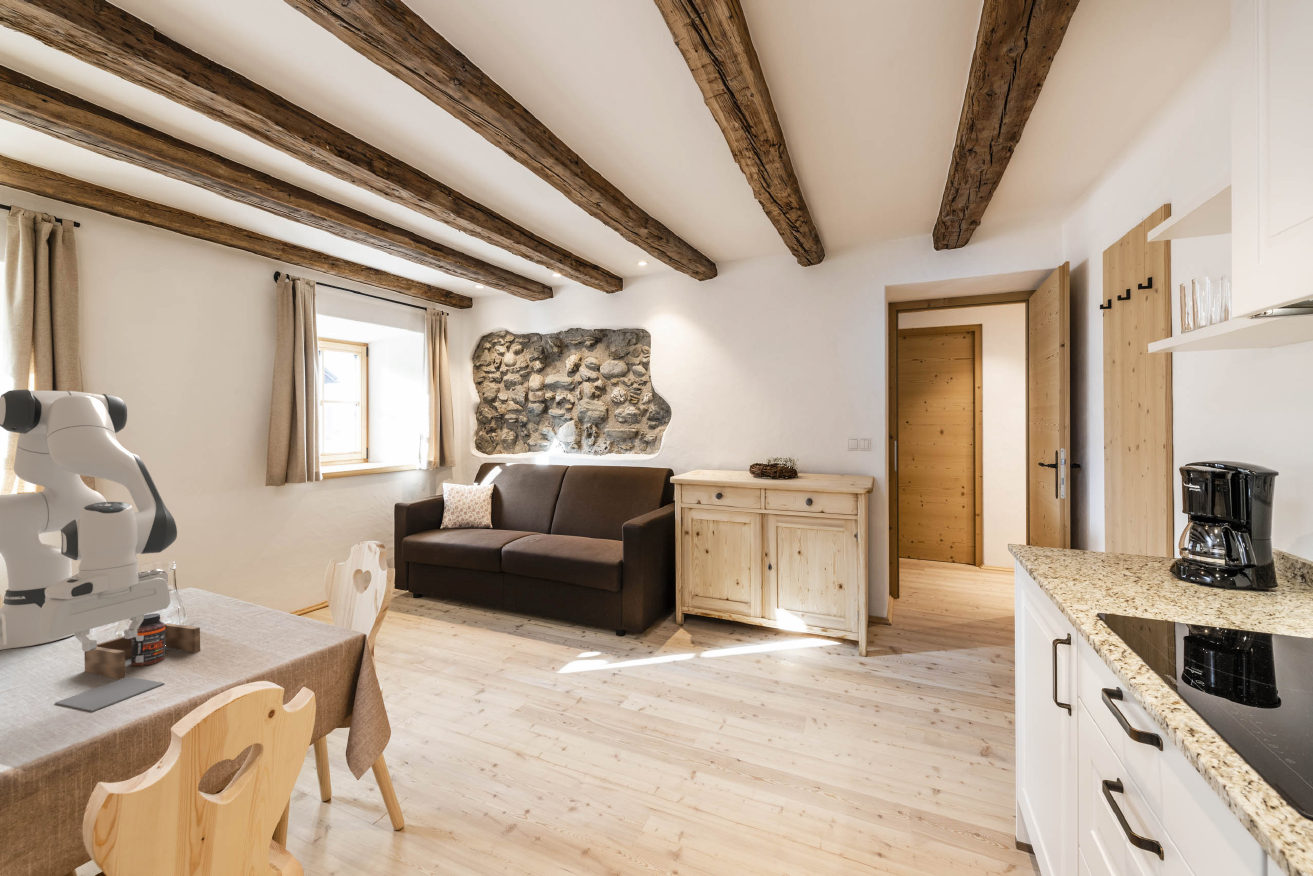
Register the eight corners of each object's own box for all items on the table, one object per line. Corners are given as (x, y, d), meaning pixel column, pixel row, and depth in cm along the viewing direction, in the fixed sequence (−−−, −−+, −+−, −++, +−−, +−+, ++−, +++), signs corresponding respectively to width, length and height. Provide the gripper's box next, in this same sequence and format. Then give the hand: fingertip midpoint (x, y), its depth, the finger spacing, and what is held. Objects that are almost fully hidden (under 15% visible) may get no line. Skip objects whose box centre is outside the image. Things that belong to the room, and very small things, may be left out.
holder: (84, 673, 122) (84, 647, 122) (168, 646, 137) (167, 623, 137) (118, 679, 118) (118, 653, 118) (200, 650, 134) (199, 627, 134)
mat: (55, 704, 108) (55, 702, 108) (128, 677, 119) (128, 676, 119) (92, 712, 104) (92, 710, 104) (164, 684, 116) (164, 683, 116)
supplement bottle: (143, 668, 124) (142, 621, 124) (124, 666, 125) (124, 619, 125) (171, 658, 130) (171, 612, 130) (153, 656, 131) (153, 611, 131)
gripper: (158, 566, 122) (159, 625, 122) (33, 591, 103) (34, 661, 103) (176, 567, 121) (177, 627, 121) (52, 593, 101) (54, 665, 101)
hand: (110, 643), depth 112 cm, fingers open, 5 cm apart
